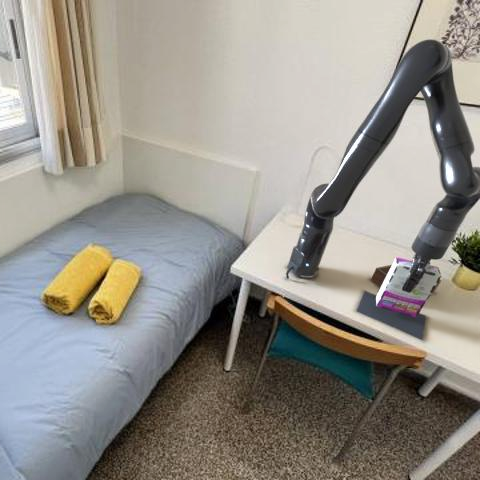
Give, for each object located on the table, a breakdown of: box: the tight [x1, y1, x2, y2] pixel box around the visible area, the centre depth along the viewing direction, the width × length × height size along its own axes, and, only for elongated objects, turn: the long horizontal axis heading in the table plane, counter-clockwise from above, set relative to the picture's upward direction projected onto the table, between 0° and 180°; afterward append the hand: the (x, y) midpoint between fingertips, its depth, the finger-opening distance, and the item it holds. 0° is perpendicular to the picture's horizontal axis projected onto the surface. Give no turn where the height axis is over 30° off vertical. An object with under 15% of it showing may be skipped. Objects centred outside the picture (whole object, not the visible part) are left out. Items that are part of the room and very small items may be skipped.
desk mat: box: [356, 290, 427, 340], centre depth 110 cm, size 12×18×1 cm, turn 52°
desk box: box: [370, 264, 442, 294], centre depth 121 cm, size 17×12×6 cm
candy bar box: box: [376, 256, 443, 317], centre depth 104 cm, size 11×5×16 cm, turn 66°
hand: (407, 285), depth 104 cm, fingers closed on candy bar box, 5 cm apart
